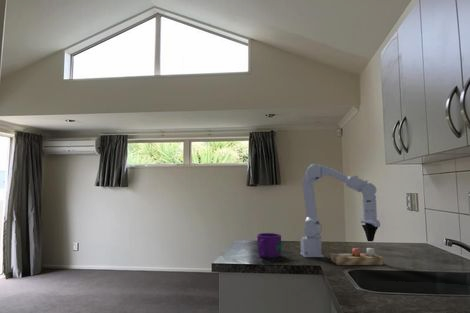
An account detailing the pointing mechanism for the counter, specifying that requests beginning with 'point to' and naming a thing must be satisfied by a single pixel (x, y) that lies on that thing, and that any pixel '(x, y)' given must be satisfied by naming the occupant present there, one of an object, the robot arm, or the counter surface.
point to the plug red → (356, 252)
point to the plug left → (342, 255)
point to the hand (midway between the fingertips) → (370, 241)
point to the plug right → (370, 252)
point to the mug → (269, 245)
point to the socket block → (357, 260)
